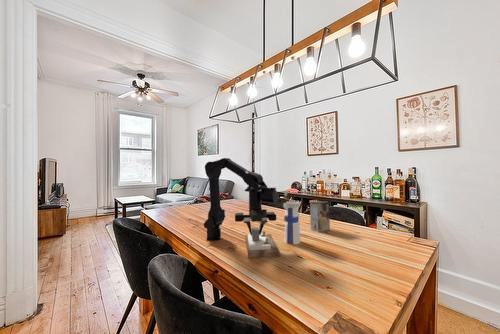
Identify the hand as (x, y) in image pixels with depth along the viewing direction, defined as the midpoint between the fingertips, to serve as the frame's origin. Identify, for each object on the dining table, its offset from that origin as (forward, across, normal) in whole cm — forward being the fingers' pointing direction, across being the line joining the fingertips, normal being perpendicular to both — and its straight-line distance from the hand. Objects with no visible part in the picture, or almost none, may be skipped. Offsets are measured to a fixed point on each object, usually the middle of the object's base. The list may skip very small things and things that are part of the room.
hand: (255, 235), depth 99 cm
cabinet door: (+4, +1, 0) cm, 4 cm away
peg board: (+6, +2, 0) cm, 6 cm away
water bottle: (+6, +18, +5) cm, 20 cm away
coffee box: (+6, +39, +22) cm, 45 cm away
